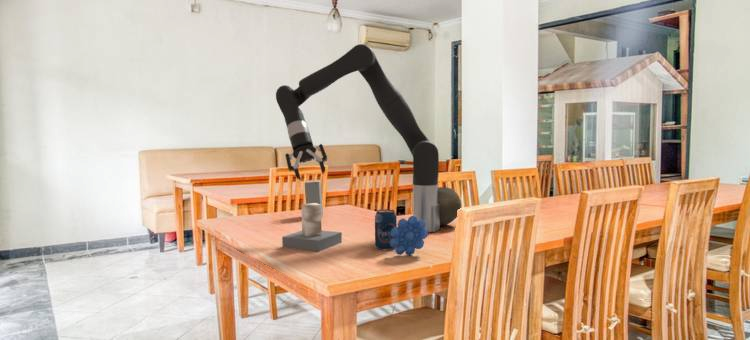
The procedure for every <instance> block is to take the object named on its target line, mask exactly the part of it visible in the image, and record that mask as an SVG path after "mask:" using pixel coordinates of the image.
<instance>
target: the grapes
mask: <svg viewBox="0 0 750 340" xmlns="http://www.w3.org/2000/svg"><path fill="white" fill-rule="evenodd" d="M425 225H426V224H425V221H424V220H419V221H418V222H417V217H416V216H413V215H411V216H409V217H408V219H406V218H401V219H399V220H398V222H397V227H394V228H393V229H392V230H391V236H392V237H394V238H392V239H391V241H390V246H391V247H393V248H394V249H395V254H396V255H403V254H404V253H405V255H407V256H412V255H413V254H414V253H415V251H416V250H421V249H422V248H423V247H424V245H425V241H424V240H425V239H426V238H428V235H429V232H428V231H427V230H426V229H423V228H424V227H425Z"/></svg>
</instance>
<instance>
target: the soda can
mask: <svg viewBox="0 0 750 340" xmlns="http://www.w3.org/2000/svg"><path fill="white" fill-rule="evenodd" d="M397 218H398V217H397V215H396V213H395V209H387V208H386V209H385V208H384V209H378V210H376V213H375V215H374V245H375V247H376V249H378V250H381V251H390V250H394V249H395V248H393V247H391V246H390V241H391V239H392V238H394V237H392V236H391V230H392V229H393V228H394V227H398V225H397V224H398V222H397Z"/></svg>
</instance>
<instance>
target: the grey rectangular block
mask: <svg viewBox="0 0 750 340" xmlns="http://www.w3.org/2000/svg"><path fill="white" fill-rule="evenodd" d="M304 193H305V194H304V196H305V204H308V203H318V204H321V218H322V217H323V216H324V207H323V195H322V194H323V191H322V180H311V181H309V180H308V181H305V182H304Z"/></svg>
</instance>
